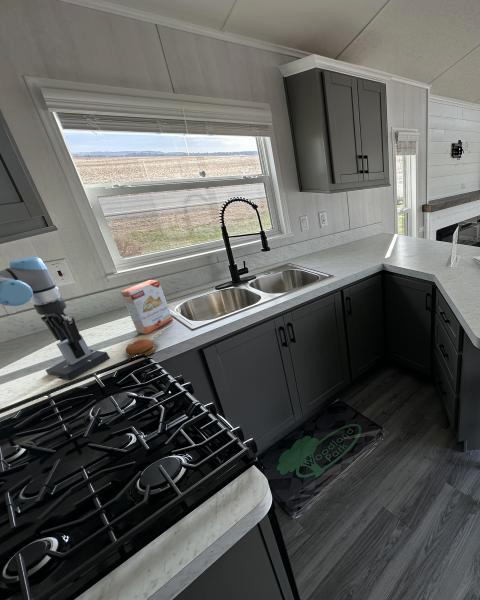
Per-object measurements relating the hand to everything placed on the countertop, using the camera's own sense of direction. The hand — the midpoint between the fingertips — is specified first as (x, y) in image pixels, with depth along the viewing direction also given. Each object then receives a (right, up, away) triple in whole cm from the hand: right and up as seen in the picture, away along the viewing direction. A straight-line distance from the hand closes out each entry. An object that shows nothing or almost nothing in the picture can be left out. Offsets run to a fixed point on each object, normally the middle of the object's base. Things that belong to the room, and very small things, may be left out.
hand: (78, 356), depth 125 cm
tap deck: (0, -4, +1) cm, 5 cm away
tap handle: (0, -1, +1) cm, 1 cm away
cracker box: (+9, +9, +29) cm, 31 cm away
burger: (+18, 0, +9) cm, 20 cm away
